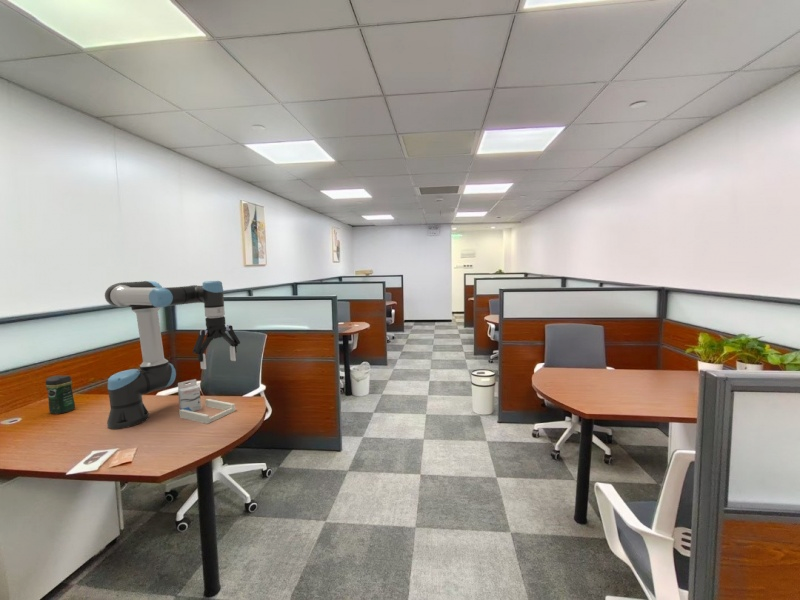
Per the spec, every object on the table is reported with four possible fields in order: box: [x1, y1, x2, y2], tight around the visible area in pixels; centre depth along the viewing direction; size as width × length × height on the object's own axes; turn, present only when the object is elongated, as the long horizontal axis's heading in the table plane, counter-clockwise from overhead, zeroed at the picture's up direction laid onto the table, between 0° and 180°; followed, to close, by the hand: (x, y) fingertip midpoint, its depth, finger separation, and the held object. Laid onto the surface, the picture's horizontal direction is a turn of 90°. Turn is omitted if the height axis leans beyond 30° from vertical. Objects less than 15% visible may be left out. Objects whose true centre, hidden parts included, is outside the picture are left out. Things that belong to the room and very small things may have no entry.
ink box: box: [177, 378, 202, 412], centre depth 168 cm, size 8×5×15 cm, turn 134°
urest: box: [178, 398, 236, 425], centre depth 164 cm, size 19×15×4 cm
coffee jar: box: [45, 375, 76, 415], centre depth 173 cm, size 10×8×19 cm
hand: (219, 364), depth 149 cm, fingers open, 13 cm apart
